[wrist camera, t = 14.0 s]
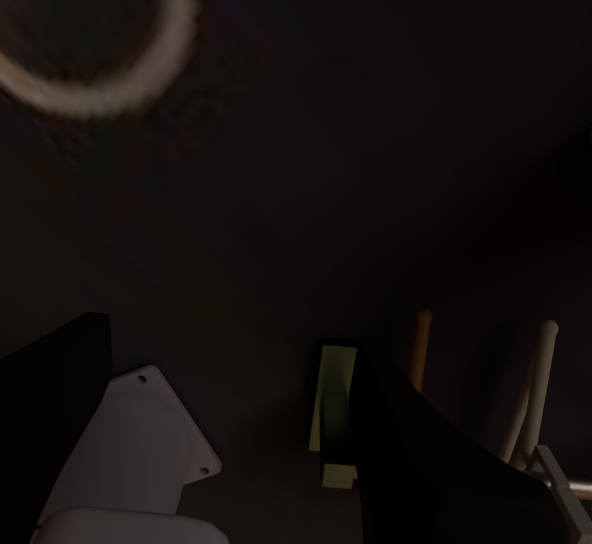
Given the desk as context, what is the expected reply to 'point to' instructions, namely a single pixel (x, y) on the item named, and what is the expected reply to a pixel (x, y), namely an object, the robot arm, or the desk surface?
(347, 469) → the rail
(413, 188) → the desk surface
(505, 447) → the white hanger
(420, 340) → the beech hanger
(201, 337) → the desk surface
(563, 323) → the desk surface
